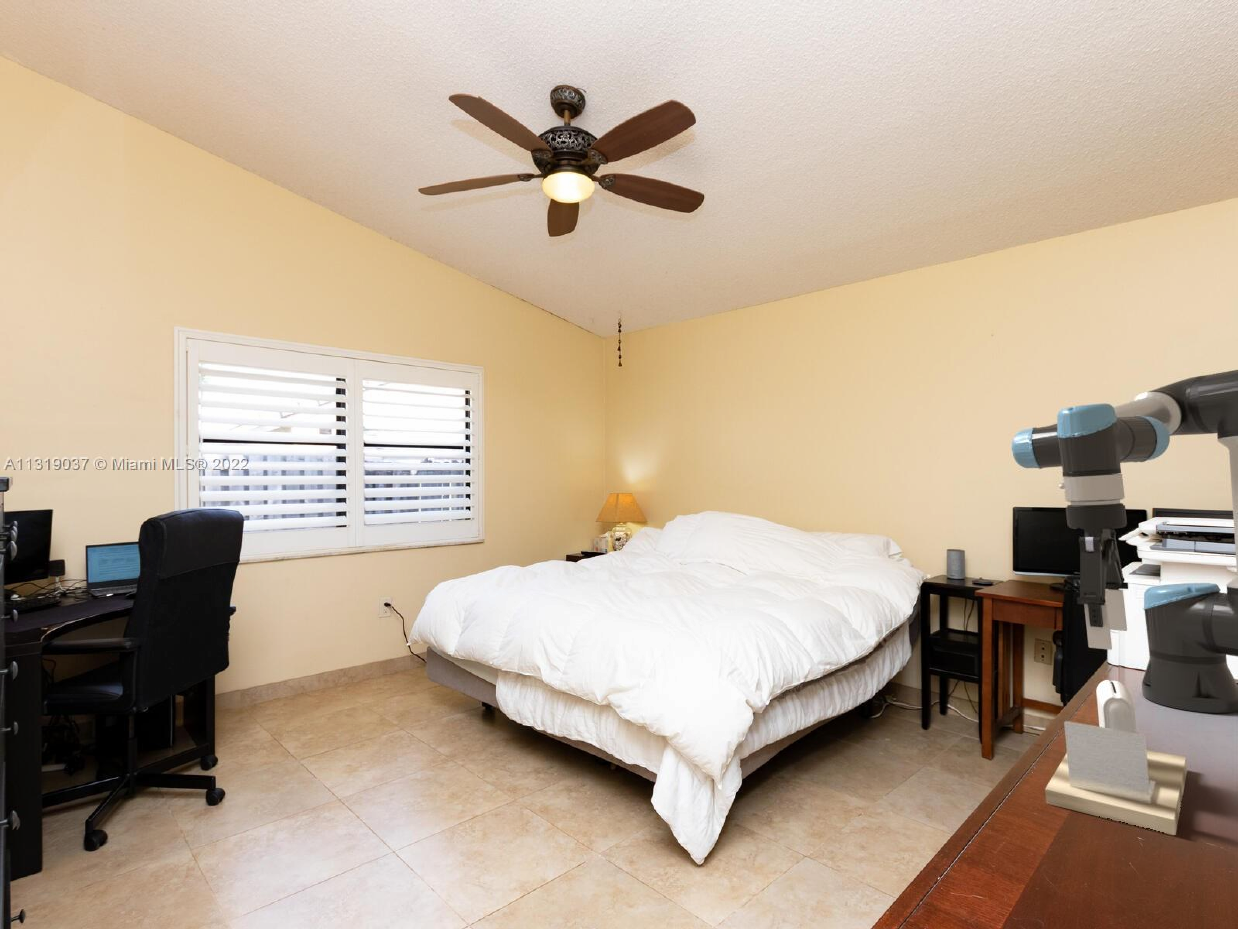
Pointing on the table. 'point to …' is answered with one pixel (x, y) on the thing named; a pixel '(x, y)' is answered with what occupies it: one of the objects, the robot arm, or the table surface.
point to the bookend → (1108, 762)
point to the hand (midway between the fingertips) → (1108, 638)
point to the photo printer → (1115, 706)
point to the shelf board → (1155, 816)
